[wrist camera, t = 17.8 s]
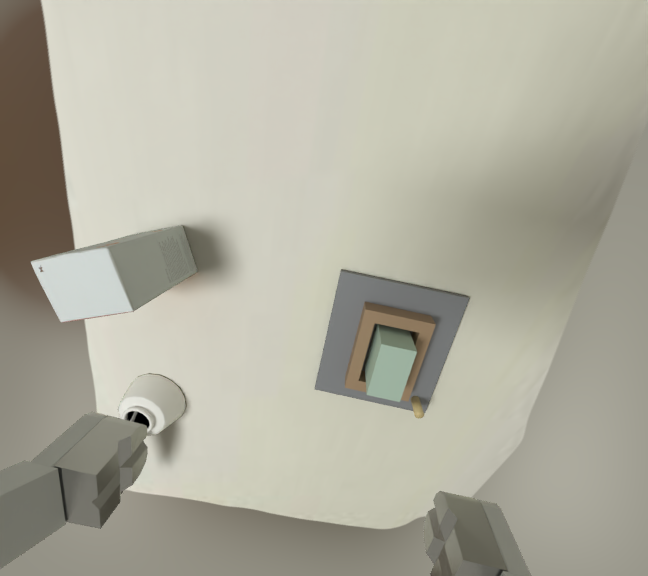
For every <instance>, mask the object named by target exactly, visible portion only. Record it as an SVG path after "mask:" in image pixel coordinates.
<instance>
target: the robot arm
mask: <svg viewBox="0 0 648 576" xmlns="http://www.w3.org/2000/svg"><path fill="white" fill-rule="evenodd" d="M146 436H147V426H146V425H143V424H139V423H135V422H131V421H128V420H124V419H120V418H116V417H112V416H108V415H104V414H99V413H95V412H90V413H88V414H85V415H84V416H83V417H81V418H80V419H79V420H78V421H77V422H76V423H75V424H73V425H72V426H71V427H70V428H69V429H68V430H66V431H65V432H64V433H63V434H62V435H61V436H60V437H58V438H57V439H56V440H55V441H54V442H53V443H52V444H50V445H49V446H48V447H47V448H46V449H45V450H43V451H42V452H41V453H40V454H39V455H38V456H37V457H35V458H34V459H33V460H32V461H31V462H30V461H22V462H20V463H18V464H15V465H13V466H11V467H9V468H6V469H3V470H1V471H0V569H1V568H3V567H4V566H5V565H7V564H8V563H10V562H11V561H13V560H14V559H16V558H17V557H19V556H20V555H22V554H23V553H25V552H26V551H27V550H29V549H30V548H32V547H33V546H35V545H36V544H38V543H39V542H41V541H42V540H44V539H45V538H46V537H48V536H49V535H51V534H52V533H53V532H55V531H57V530H58V529H59V528H61V527H62V526H64V525H65V524H66V522H69V523H75V524H80V525H85V526H90V527H95V528H100V529H101V527H102V526H103V525H104V523H105V522H106V521H107V519H108V518H109V517H110V515H111V514H112V512H113V511H114V510H115V508H116V507H117V506H118V504H119V503H120V498H121V496H120V495H121V491H123V490H125V489H126V488H128V487H130V486H132V485H133V483H134V482H135V481H136V479H137V478H138V476H139V475H140V473H141V471H142V469H143V467H144V464H145V462H146V458H147V446H146V445H145V443H144V442H143V440H144V439H145V437H146ZM433 501H434V505H435V508H433V509H431V510H430V511H428V513H427V515H426V518H425V522H424V543H425V549H426V553H427V555H428V556H429V558H430V559H431V560H432V562H433V563H434V566H433V568H432V571H431V573H430V575H431V576H531V574H530V572H529V570H528V567H527V565H526V563H525V561H524V559H523V556H522V555H521V552H520V550H519V548H518V545H517V543H516V541H515V539H514V537H513V534H512V532H511V530H510V528H509V526H508V523H507V521H506V519H505V517H504V515H503V513H502V510H501V508H500V507H499V506H498V505H497V504H495V503H491V502H487V501H482V500H476V499H475V498H470V497H466V496H461V495H456V494H451V493H447V492H442V491H439V492H438V493H436V495H435V498H434V500H433Z"/></svg>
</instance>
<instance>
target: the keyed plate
mask: <svg viewBox="0 0 648 576" xmlns="http://www.w3.org/2000/svg"><path fill="white" fill-rule="evenodd" d="M468 301H469V298H468V297H467V296H464V295H459V294H455V293H450V292H445V291H441V290H436V289H431V288H426V287H422V286H417V285H412V284H408V283H403V282H398V281H393V280H389V279H384V278H379V277H375V276H370V275H365V274H360V273H356V272H351V271H346V270H342V269H341V273H340V277H339V282H338V286H337V291H336V295H335V300H334V304H333V309H332V313H331V318H330V322H329V327H328V331H327V336H326V340H325V345H324V349H323V354H322V358H321V363H320V367H319V372H318V376H317V381H316V385H315V389H316V390H320V391H325V392H329V393H334V394H338V395H343V396H347V397H352V398H357V399H361V400H366V401H370V402H375V403H379V404H384V405H388V406H393V407H397V408H402V409H406V410H411V411H414V415H415V417H416V418H422V417H423V416H424V413H425V412H426V409H427V406H428V404H429V401H430V399H431V396H432V394H433V391H434V388H435V386H436V383H437V381H438V378H439V375H440V373H441V370H442V368H443V365H444V363H445V360H446V357H447V355H448V352H449V350H450V347H451V345H452V342H453V339H454V337H455V334H456V332H457V329H458V326H459V324H460V321H461V319H462V316H463V314H464V311H465V308H466V306H467V303H468ZM376 324H381V325H386V326H390V327H395V328H399V329H404V330H409V331H410V334H411V336H412V339H413V342H414V345H415V347H416V350H417V354H416V357H415V359H414V362H413V365H412V368H411V371H410V374H409V377H408V380H407V383H406V386H405V389H404V392H403V394H402V397H401V400H400V402H397V401H392V400H388V399H383V398H378V397H374V396H369V395H367V393H366V377H365V364H366V360H367V356H368V353H369V349H370V346H371V342H372V339H373V335H374V331H375V328H376Z"/></svg>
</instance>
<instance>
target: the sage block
mask: <svg viewBox="0 0 648 576" xmlns="http://www.w3.org/2000/svg"><path fill="white" fill-rule="evenodd" d="M416 354H417V350H416V347H415V345H414V342H413V339H412V336H411V334H410V331H409V330H404V329H399V328H395V327H390V326H386V325H381V324H376V328H375V331H374V335H373V339H372V342H371V346H370V349H369V353H368V356H367V360H366V364H365V377H366V393H367V395H369V396H374V397H378V398H383V399H388V400H392V401H397V402H400V400H401V397H402V394H403V392H404V389H405V386H406V383H407V380H408V377H409V374H410V371H411V368H412V365H413V362H414V359H415V357H416Z"/></svg>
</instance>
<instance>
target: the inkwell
mask: <svg viewBox="0 0 648 576" xmlns="http://www.w3.org/2000/svg"><path fill="white" fill-rule="evenodd" d="M185 407H186V405H185V397H184V395H183V393H182V391H181V390H180V388H179V387H178V386H177V385H176V384H175V383H173V382H172V381H171V380H170V379H167V378H165V377H163V376H161V375H154V374H146V375H142V376H138V377H137V378H136V379H135V380H134V381H133V382H132V383H131V384H130V386H129V387H128V389H127V391H126V392H125V394H124V396H123V398H122V400H121V402H120V404H119V407H118V413H119V417H120V419H124V420H128V421H131V422H135V423H139V424H143V425H146V426H147V436H151V435H155V434H158V433H160V432H161V431H163V430H164V429H165V428H167V427H168V426H169V425H170V424H172V423H173V422H174V421H176V420H177V419H178V418H179V417H180V416H182V415H183V412H184V410H185ZM145 438H146V437H145ZM143 442H144V441H143ZM122 492H123V491H121V494H122Z"/></svg>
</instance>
